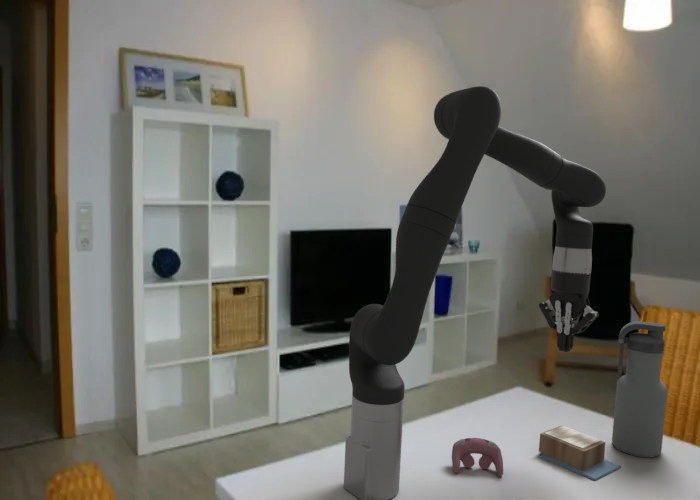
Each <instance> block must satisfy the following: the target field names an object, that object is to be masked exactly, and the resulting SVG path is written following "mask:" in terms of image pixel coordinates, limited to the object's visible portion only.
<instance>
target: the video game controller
mask: <svg viewBox="0 0 700 500" xmlns="http://www.w3.org/2000/svg"><path fill="white" fill-rule="evenodd" d="M474 454H476V455H478V454H479V455H481V457H480V458H479V459H478V466H479V468H480V469H482V470H487V469H489V468H490V467H491V464H494V467H495V471H496V472H495V473H496V475H497V476H498V478H499V477H500V478H502V477H503V475H504V460H503V456H502V455H503V454H502V452H501V448H500V447H499V445H498V444H496V443H495V442H494V441H492V440H488V439H485V438H480V437H468V438H467V437H466V438H460V439H459V440H457V441H455V442H454V443H453V445H452V450H451V462H452V463H451V464H452V471H453V472H454V474H459V471H460V468H461V463H462V465H463V467H465V468H468V469H469V468H472V467H474V465H475V459H474V457H473V456H472V455H474Z"/></svg>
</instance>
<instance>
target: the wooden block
mask: <svg viewBox="0 0 700 500" xmlns="http://www.w3.org/2000/svg"><path fill="white" fill-rule="evenodd" d="M605 449H606V441H604V440H601V439H599V438H596V437H593V436H591V435H589V434H586V433H583V432H580V431H578V430H576V429H573V428H570V427H568V426H565V425H560V426H558V427H555V428H551V429H549V430H546V431H544V432H541V433H539V444H538V453H541V454H545V455H547V456H550V457H552V458H554V459H556V460H559V461H561V462H563V463H566V464H568V465H570V466H573V467H575V468H577V469H579V470H582V471H584V470H586V469H588V468H590V467H592V466H594V465H596V464H598V463H600V462H603V461H604V459H605V452H606V450H605Z"/></svg>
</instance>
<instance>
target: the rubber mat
mask: <svg viewBox="0 0 700 500" xmlns="http://www.w3.org/2000/svg"><path fill="white" fill-rule="evenodd" d="M540 458H542V459H545V460H546V461H550V462H551V463H553V464H556V465H557V466H560V467H563V468H565V469H567V470H570V471H572V472H573V473H576V474H578V475H581V476H582V477H586V478H587V479H590V480H592V481H593V482H594V481H598V480H599V479H601V478H603V477H605V476H607V475H609V474H611V473H613V472H615V471H617V470H619V469H621V468H622V465H621V464H618V463H617V462H616V463H615V462H612V461H610V460H608V459H606V458H604V461H603V462H600V463H598V464H596V465H594V466H592V467H590V468H588V469H586V470H584V471H582V470H579V469H577V468H575V467H573V466H570V465H568V464H566V463H563V462H561V461H559V460H556V459H554V458H552V457H550V456H547V455H545V454H543V453H541V454H540Z"/></svg>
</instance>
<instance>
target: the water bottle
mask: <svg viewBox="0 0 700 500" xmlns="http://www.w3.org/2000/svg"><path fill="white" fill-rule="evenodd" d="M634 330H636V331H637V330H644V331H645V330H646V331H647V333H646V332H632V333H630V332H631V331H634ZM664 332H666V324H662V323H659V322H658V323H657V322H649V321H648V322H647V321H639V320H638V321H631V322H629V323H627V324H625V325H624V326H623V327H622V328H621V330H620V331H619V334H618V340H617V341H618V343H619V344H620V347H619V348H620V349H619V357H618V367H617V376H620V377H619V378H618V379H617V382H616V389H615V402H614V413H613V424H612V434H611V435H612V436H611V442H612V444H613V446H614V447H616V448H615V449H618V450H620V451H621V452H623V453H625V454H628V455H631V456H634V457H639V458H654V457H657V456H659V455H660V454H661V453H662V449H663V437H664V427H665V417H666V406H667V399H668V398H667V397H668V389H667V386H666V385H665V384H664V382H662V380H661V370H662V369H661V368H662V358H663V357H662V356H663V355H664V351H665V339H664ZM628 333H630V334H628ZM627 334H628V336H627ZM626 336H627V337H626ZM626 344H627V347H626V349H627V358H626V359H627V360H626V368H625V369H626V371H625V374H624V375H622V371H623V361H624V348H625V347H624V346H625V345H626Z"/></svg>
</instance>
